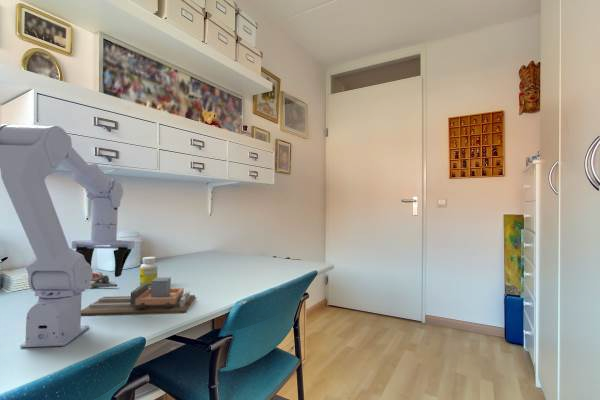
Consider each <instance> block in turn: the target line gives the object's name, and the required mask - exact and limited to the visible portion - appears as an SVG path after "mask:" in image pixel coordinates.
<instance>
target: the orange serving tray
mask: <svg viewBox="0 0 600 400" xmlns="http://www.w3.org/2000/svg"><path fill="white" fill-rule="evenodd" d="M148 285H149V283H144V284H142V285H141V286H140V285H139V286H138V287H136V288H135V289H134V290H132V291H130V296H131V300H130V305H139V309H143V308H144V307H145V305H163V304H165V305H164V307H165V308H166V309H168V308H169V307H170V306H171V304H176V302H177V301H178V300H179V299H180V297H181V296H182V295H184V294H185V292H184V291H185V290H184V289H185V288H183V287H180V288H179V287H174V288H173V287H172V288H171V287H170V296H169V297H168V298H151V288H148Z"/></svg>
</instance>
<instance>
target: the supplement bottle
mask: <svg viewBox="0 0 600 400" xmlns="http://www.w3.org/2000/svg"><path fill="white" fill-rule="evenodd" d="M155 278H158V263H156V256H145V257H142V264H140V266H139V286H141V285H142V284H144V283H149V285H148V289H151V281H152V280H154V279H155Z"/></svg>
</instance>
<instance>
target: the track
mask: <svg viewBox="0 0 600 400" xmlns="http://www.w3.org/2000/svg"><path fill="white" fill-rule="evenodd" d="M195 298H196V295H195V294H191V292H190V290H188V291H185V292H184V294H183V295H182V296H181V297H180V299H179V300H178V301H177V302H176V304H171V306H170V307H169V308H168V309H166V308H165V307H164V305H165V304H163V305H145V307H144V308H143V309H139V305H130V300H131V295H130V296H129V295H128V296H127V295H126V296H121V295H120V296H119V295H118V296H103V297H100V298H99V299H98V300H96V301H94V302H93V303H91V304H89V305H88V306H86V307H85V308H83V309H81V317H82V316H85V317H86V316H118V315H119V316H121V315H157V314H185V313H186V312H187V310H188V308H189V307H190V305H191V304H192V302H193V301H194V299H195Z"/></svg>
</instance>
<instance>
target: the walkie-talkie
mask: <svg viewBox="0 0 600 400" xmlns="http://www.w3.org/2000/svg"><path fill="white" fill-rule="evenodd" d="M109 282H110V278H109V275H103V273H102V272H100V271H93V276H92V280H91V283H90V285H89V286H88V287H87V288H86V289H85V290H88V289H90V290H92V289H94V288H109V287H110V288H111V287H112V288H113V287H114V288H115V287H118V284H117V283H109Z"/></svg>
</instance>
